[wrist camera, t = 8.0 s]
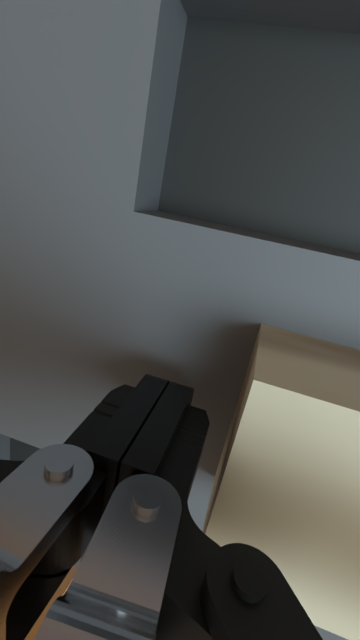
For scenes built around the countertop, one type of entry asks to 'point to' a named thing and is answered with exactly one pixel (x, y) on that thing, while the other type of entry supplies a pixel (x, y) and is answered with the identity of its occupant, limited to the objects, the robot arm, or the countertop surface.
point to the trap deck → (170, 201)
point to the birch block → (297, 472)
